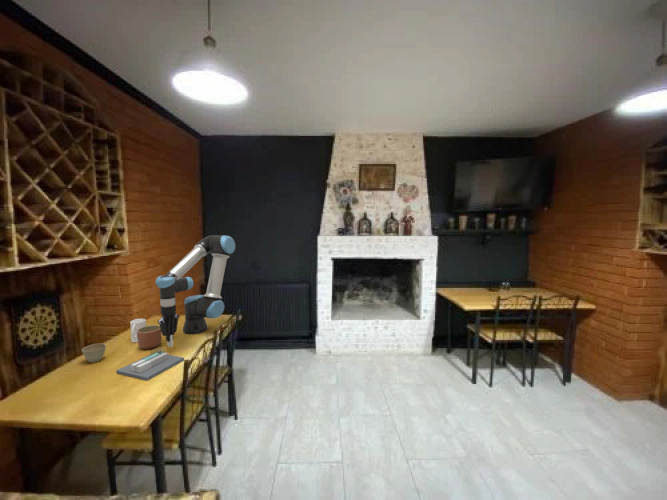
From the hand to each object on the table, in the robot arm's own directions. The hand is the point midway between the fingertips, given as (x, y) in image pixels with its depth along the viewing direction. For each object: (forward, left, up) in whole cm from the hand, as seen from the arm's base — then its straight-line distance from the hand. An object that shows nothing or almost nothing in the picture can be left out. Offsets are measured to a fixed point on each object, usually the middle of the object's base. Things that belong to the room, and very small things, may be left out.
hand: (170, 346), depth 178 cm
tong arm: (+18, +4, -2) cm, 18 cm away
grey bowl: (+22, -28, -3) cm, 36 cm away
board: (+17, +6, -3) cm, 18 cm away
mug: (-5, -31, -3) cm, 32 cm away
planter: (-1, -16, -3) cm, 17 cm away
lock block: (+8, 0, -2) cm, 8 cm away
